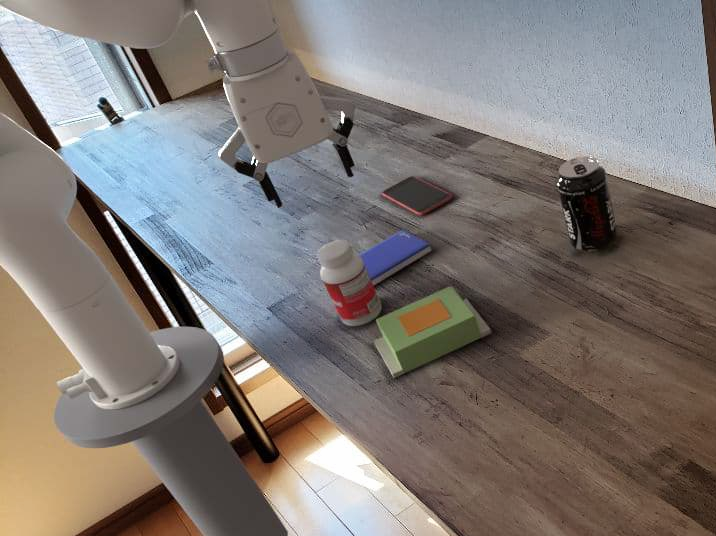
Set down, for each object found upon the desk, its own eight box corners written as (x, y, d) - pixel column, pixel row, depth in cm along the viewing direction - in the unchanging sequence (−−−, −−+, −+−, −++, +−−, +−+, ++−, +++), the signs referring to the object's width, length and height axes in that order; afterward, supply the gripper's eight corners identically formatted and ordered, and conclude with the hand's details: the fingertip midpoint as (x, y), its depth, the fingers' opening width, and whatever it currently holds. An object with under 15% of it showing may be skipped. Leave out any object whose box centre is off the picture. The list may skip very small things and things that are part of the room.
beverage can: (578, 261, 118) (560, 184, 110) (566, 239, 123) (548, 164, 115) (624, 246, 118) (610, 168, 110) (610, 224, 123) (595, 149, 115)
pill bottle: (339, 311, 122) (308, 247, 115) (378, 296, 123) (351, 231, 116) (345, 333, 118) (314, 267, 110) (386, 317, 118) (358, 251, 111)
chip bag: (394, 378, 107) (384, 356, 105) (375, 344, 114) (365, 323, 112) (491, 333, 110) (484, 310, 107) (467, 302, 116) (460, 280, 114)
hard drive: (401, 228, 134) (336, 266, 129) (428, 243, 128) (361, 283, 124) (405, 236, 135) (340, 275, 130) (432, 251, 129) (365, 292, 125)
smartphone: (419, 214, 138) (379, 192, 147) (420, 217, 138) (380, 195, 148) (453, 194, 140) (412, 174, 150) (454, 198, 141) (413, 177, 150)
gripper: (184, 91, 91) (254, 226, 103) (331, 34, 94) (384, 171, 106) (178, 74, 97) (245, 204, 108) (316, 21, 100) (368, 153, 111)
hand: (314, 188), depth 107 cm, fingers open, 9 cm apart
